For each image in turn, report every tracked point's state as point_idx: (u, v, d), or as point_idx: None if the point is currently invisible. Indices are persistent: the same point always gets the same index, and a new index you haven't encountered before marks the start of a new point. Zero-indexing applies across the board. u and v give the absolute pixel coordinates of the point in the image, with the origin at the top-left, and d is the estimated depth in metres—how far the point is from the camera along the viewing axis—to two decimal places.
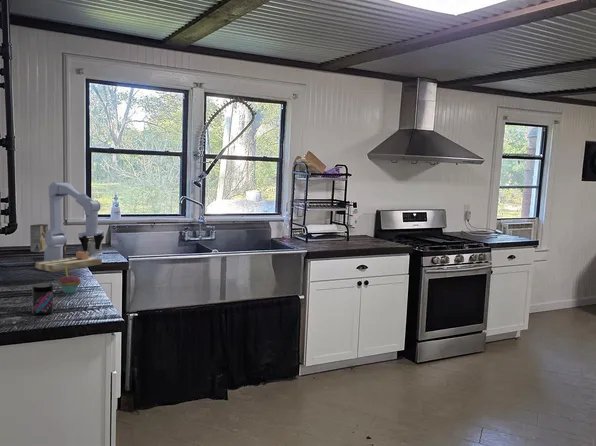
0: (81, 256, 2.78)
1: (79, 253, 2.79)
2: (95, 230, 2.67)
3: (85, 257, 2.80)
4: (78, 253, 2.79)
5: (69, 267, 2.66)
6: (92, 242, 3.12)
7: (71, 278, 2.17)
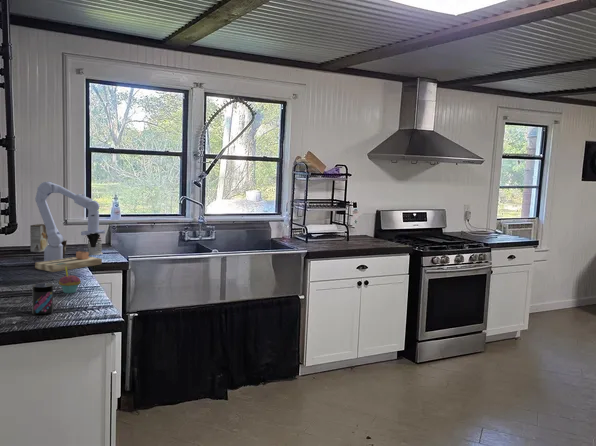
0: (81, 256, 2.78)
1: (79, 253, 2.79)
2: (96, 228, 2.85)
3: (85, 257, 2.80)
4: (78, 253, 2.79)
5: (69, 267, 2.66)
6: None
7: (71, 278, 2.17)
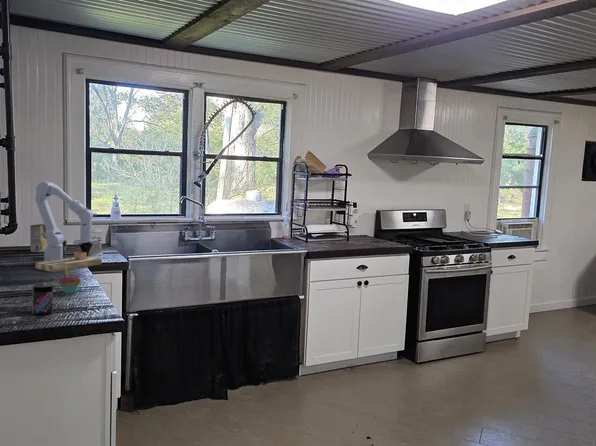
0: (79, 257, 2.77)
1: (77, 253, 2.78)
2: (89, 238, 2.81)
3: (83, 257, 2.79)
4: (76, 253, 2.78)
5: (69, 267, 2.66)
6: None
7: (71, 278, 2.17)
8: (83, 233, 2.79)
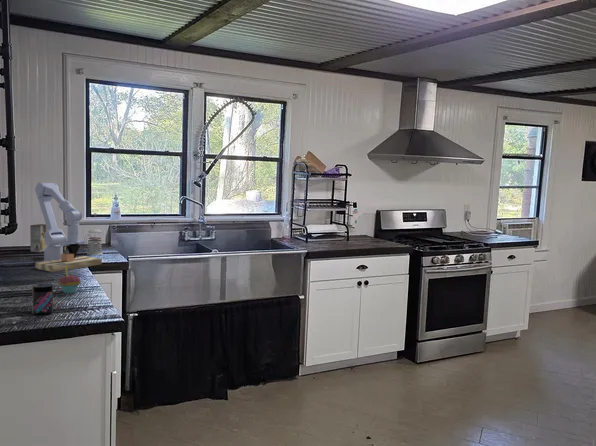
0: (66, 259, 2.70)
1: (64, 255, 2.71)
2: (76, 239, 2.74)
3: (70, 259, 2.72)
4: (63, 255, 2.71)
5: (69, 267, 2.66)
6: (92, 242, 3.12)
7: (71, 278, 2.17)
8: (70, 234, 2.72)
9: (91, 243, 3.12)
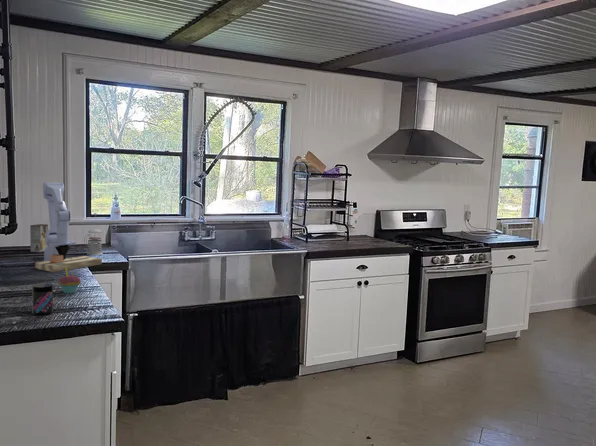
0: (55, 260, 2.64)
1: (53, 256, 2.65)
2: (66, 240, 2.68)
3: (59, 261, 2.66)
4: (52, 256, 2.65)
5: (69, 267, 2.66)
6: (92, 242, 3.12)
7: (71, 278, 2.17)
8: (59, 235, 2.66)
9: (91, 243, 3.12)
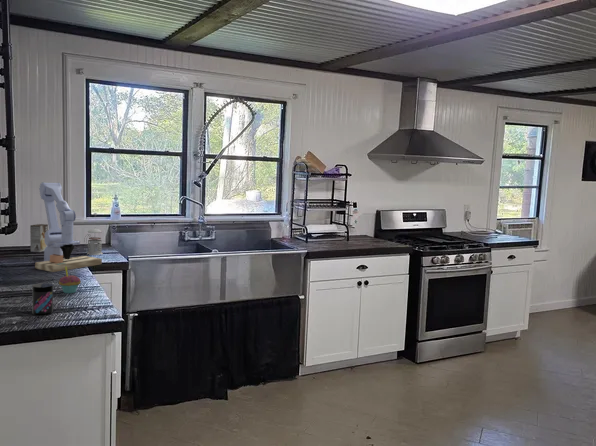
0: (55, 260, 2.64)
1: (53, 256, 2.65)
2: (71, 240, 2.70)
3: (59, 261, 2.66)
4: (52, 256, 2.65)
5: (69, 267, 2.66)
6: (92, 242, 3.12)
7: (71, 278, 2.17)
8: (64, 235, 2.69)
9: (91, 243, 3.12)
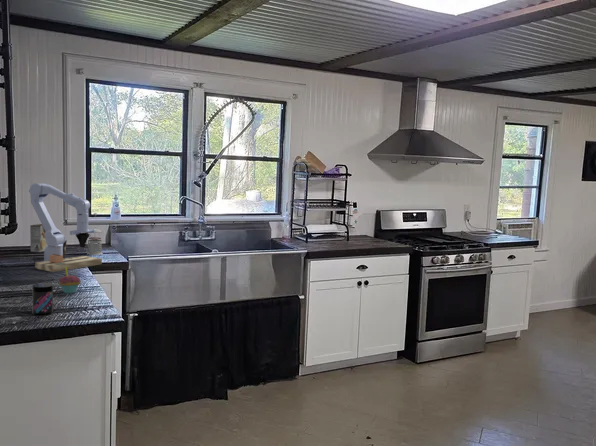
0: (55, 260, 2.64)
1: (53, 256, 2.65)
2: (86, 228, 2.78)
3: (59, 261, 2.66)
4: (52, 256, 2.65)
5: (69, 267, 2.66)
6: (92, 242, 3.12)
7: (71, 278, 2.17)
8: (79, 223, 2.76)
9: (91, 243, 3.12)
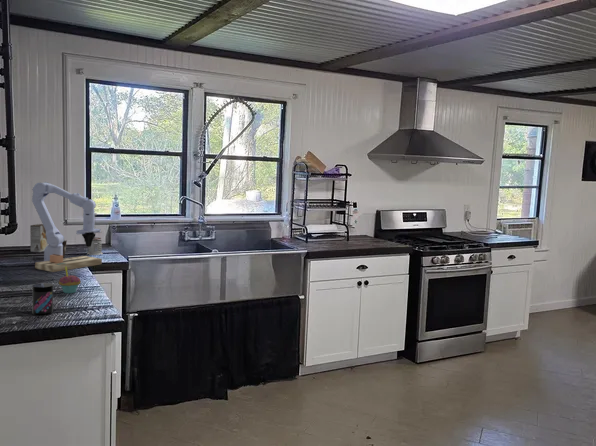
0: (55, 260, 2.64)
1: (53, 256, 2.65)
2: (92, 227, 2.82)
3: (59, 261, 2.66)
4: (52, 256, 2.65)
5: (69, 267, 2.66)
6: (92, 242, 3.12)
7: (71, 278, 2.17)
8: (86, 223, 2.80)
9: None
